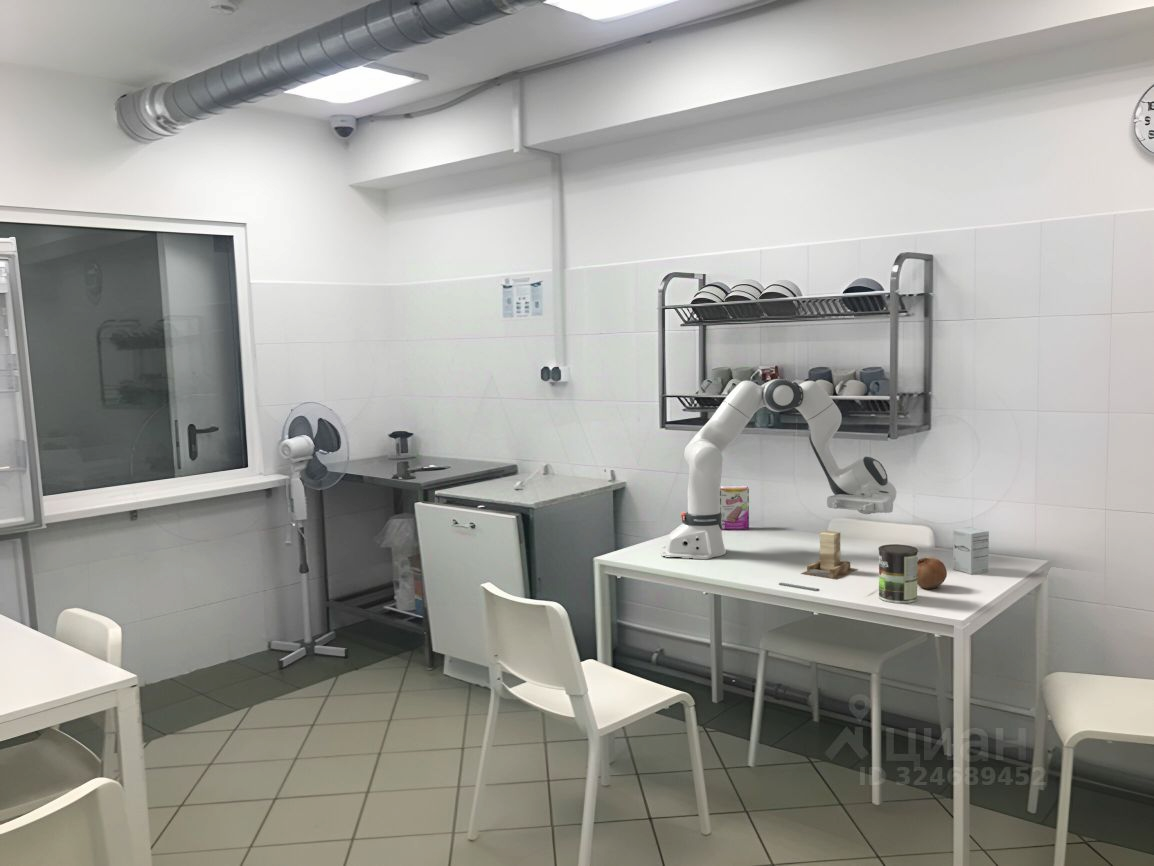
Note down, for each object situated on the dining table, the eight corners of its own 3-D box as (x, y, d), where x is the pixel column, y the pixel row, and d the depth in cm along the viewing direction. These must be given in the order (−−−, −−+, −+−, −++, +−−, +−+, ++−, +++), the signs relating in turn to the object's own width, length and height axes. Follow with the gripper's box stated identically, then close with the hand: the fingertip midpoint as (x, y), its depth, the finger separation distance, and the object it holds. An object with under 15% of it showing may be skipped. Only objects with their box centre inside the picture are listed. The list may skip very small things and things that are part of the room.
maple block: (833, 573, 275) (833, 535, 274) (820, 571, 278) (819, 533, 277) (840, 570, 278) (840, 532, 277) (827, 568, 281) (826, 530, 280)
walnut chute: (836, 581, 268) (836, 571, 268) (800, 575, 276) (800, 565, 276) (858, 570, 279) (858, 561, 279) (823, 565, 287) (823, 556, 287)
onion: (920, 600, 256) (908, 571, 254) (916, 583, 265) (904, 555, 262) (954, 590, 253) (942, 561, 251) (949, 573, 262) (936, 544, 259)
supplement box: (952, 569, 277) (952, 529, 276) (970, 566, 280) (970, 526, 278) (971, 574, 270) (971, 533, 269) (989, 571, 273) (989, 530, 272)
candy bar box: (720, 530, 346) (719, 488, 344) (719, 527, 351) (718, 486, 349) (749, 530, 345) (749, 487, 343) (748, 527, 350) (747, 485, 348)
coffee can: (885, 604, 244) (885, 553, 242) (873, 593, 254) (873, 544, 253) (923, 603, 244) (923, 552, 242) (910, 592, 254) (910, 543, 252)
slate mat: (816, 590, 259) (816, 589, 259) (779, 584, 267) (778, 583, 267) (835, 581, 268) (835, 580, 268) (798, 576, 276) (798, 574, 276)
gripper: (837, 488, 302) (818, 495, 292) (897, 493, 288) (878, 499, 278) (837, 507, 303) (818, 514, 293) (897, 512, 289) (879, 520, 279)
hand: (848, 507), depth 285 cm, fingers open, 8 cm apart
